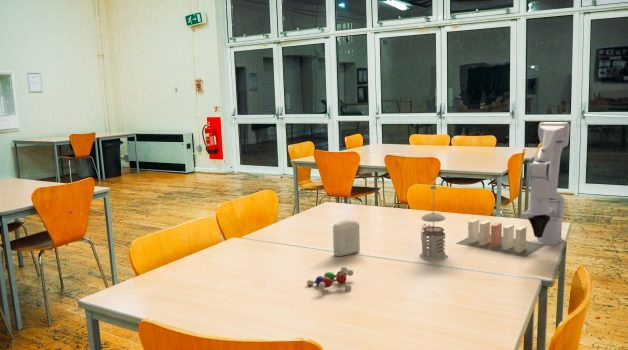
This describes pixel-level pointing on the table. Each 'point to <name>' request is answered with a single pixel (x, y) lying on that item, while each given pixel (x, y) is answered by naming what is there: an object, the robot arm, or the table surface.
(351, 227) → the photo printer
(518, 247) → the domino
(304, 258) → the table surface
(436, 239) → the french press
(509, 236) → the domino
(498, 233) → the terracotta domino
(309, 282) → the molecule model
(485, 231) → the domino
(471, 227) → the domino
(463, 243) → the mat
